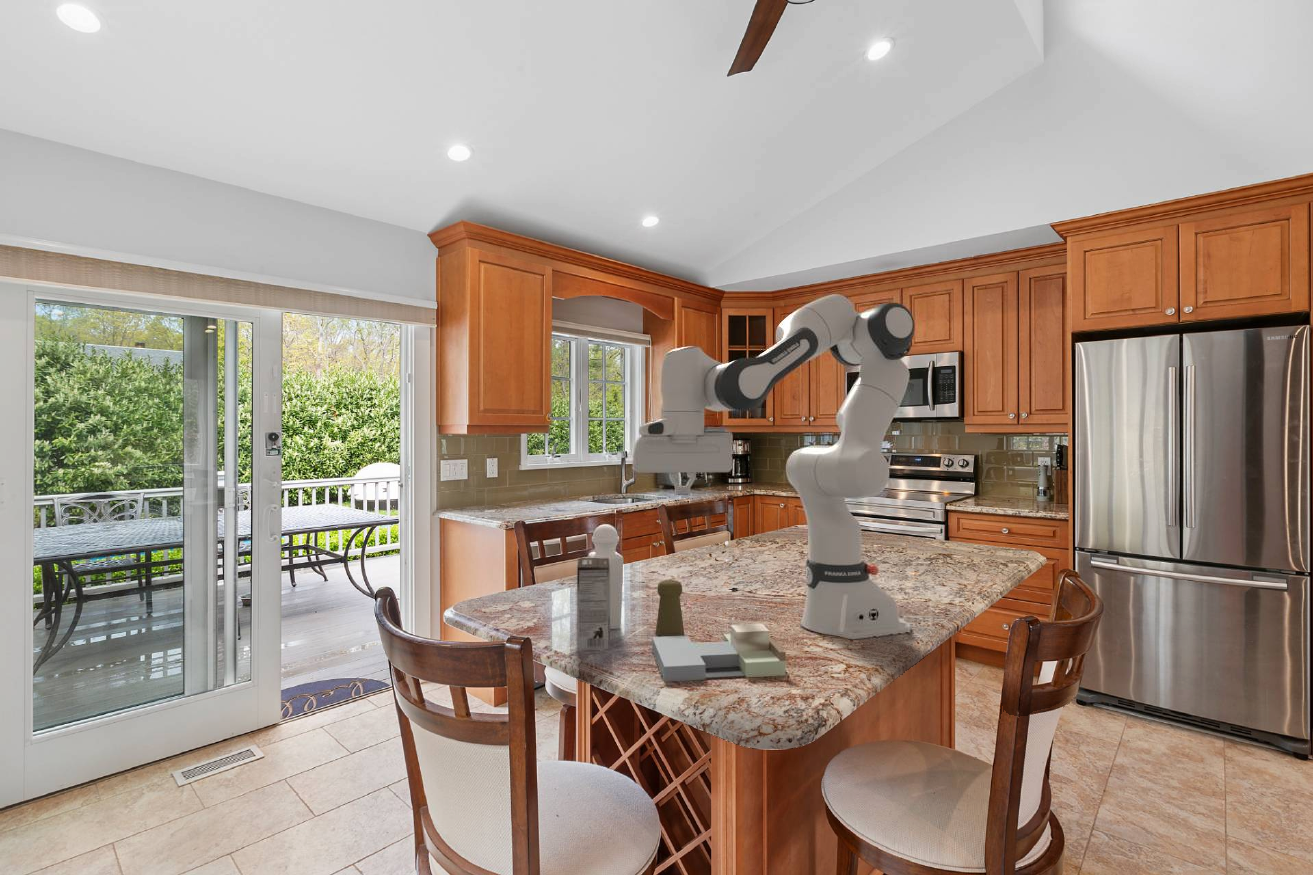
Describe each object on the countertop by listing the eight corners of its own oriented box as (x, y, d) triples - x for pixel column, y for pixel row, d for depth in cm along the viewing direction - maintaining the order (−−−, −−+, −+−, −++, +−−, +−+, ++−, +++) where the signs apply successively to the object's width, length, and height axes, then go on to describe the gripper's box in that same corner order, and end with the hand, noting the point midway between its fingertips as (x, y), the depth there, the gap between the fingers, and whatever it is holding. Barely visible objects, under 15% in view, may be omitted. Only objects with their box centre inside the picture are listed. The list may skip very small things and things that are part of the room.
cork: (681, 638, 130) (681, 584, 130) (652, 636, 131) (652, 583, 131) (686, 629, 136) (686, 578, 136) (658, 628, 137) (658, 576, 137)
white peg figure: (623, 628, 136) (623, 525, 136) (593, 631, 134) (593, 527, 134) (616, 620, 143) (616, 521, 143) (587, 623, 141) (587, 523, 141)
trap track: (758, 645, 126) (758, 624, 126) (785, 675, 110) (785, 651, 110) (652, 650, 123) (652, 629, 123) (664, 681, 107) (664, 657, 107)
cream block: (761, 642, 120) (761, 623, 120) (769, 650, 115) (769, 630, 115) (730, 643, 119) (730, 624, 119) (736, 651, 114) (736, 632, 114)
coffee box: (578, 636, 132) (578, 557, 132) (609, 635, 132) (609, 557, 132) (576, 650, 122) (576, 566, 122) (609, 649, 123) (609, 565, 123)
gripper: (728, 427, 134) (728, 493, 134) (631, 427, 131) (631, 494, 131) (736, 426, 128) (736, 495, 128) (634, 426, 125) (634, 497, 125)
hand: (682, 495), depth 130 cm, fingers closed
